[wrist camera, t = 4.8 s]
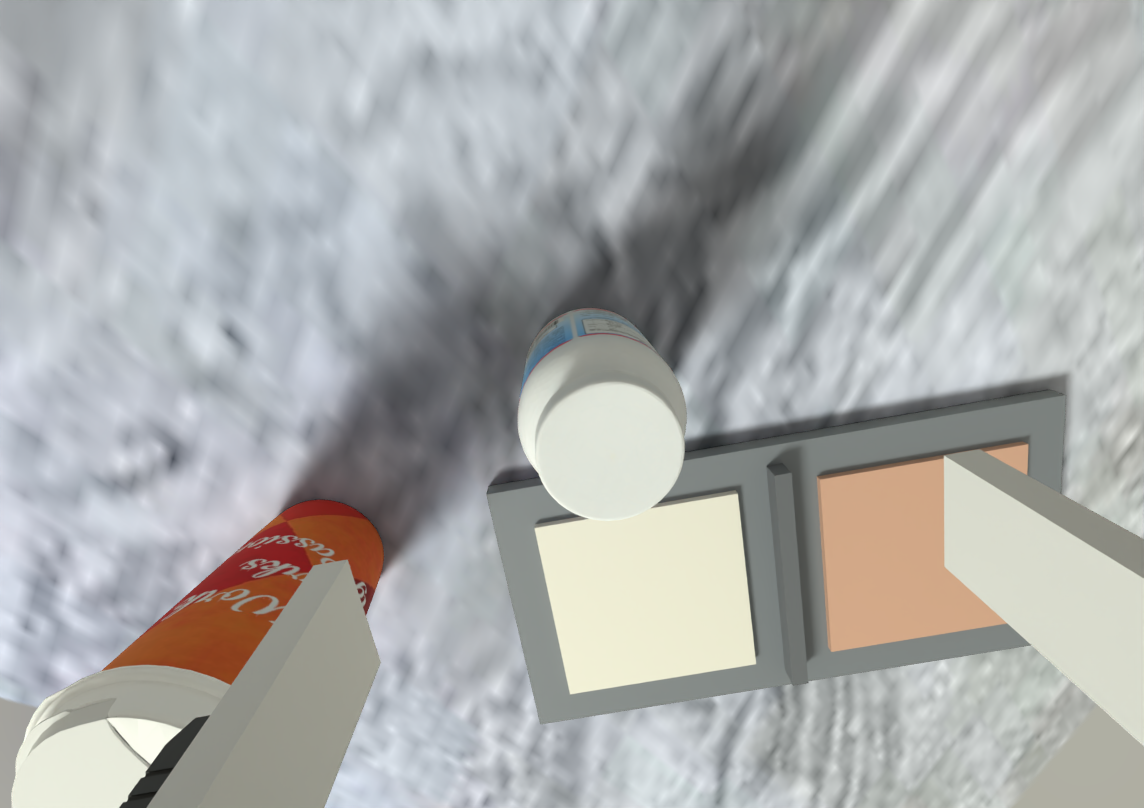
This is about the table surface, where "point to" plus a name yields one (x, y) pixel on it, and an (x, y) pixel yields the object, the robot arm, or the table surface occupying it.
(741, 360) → the table surface
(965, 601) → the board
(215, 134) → the table surface
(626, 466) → the pill bottle
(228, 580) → the coffee cup
